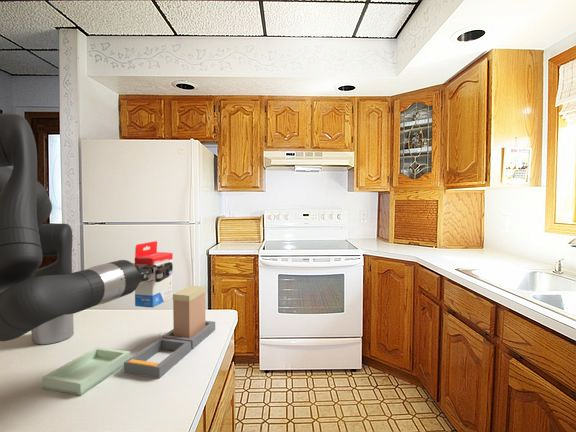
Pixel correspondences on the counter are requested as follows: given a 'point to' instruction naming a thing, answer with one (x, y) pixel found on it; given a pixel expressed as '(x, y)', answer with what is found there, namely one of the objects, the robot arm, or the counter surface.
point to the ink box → (151, 290)
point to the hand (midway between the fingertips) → (161, 265)
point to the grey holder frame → (167, 342)
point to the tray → (85, 371)
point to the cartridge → (189, 311)
